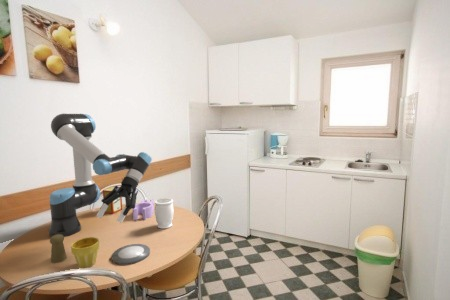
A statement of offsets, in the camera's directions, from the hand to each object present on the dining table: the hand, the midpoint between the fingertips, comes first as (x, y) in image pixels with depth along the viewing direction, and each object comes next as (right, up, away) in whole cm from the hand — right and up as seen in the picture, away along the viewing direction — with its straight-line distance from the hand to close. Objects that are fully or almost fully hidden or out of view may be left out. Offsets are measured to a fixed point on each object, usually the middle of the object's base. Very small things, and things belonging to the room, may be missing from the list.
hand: (108, 219), depth 118 cm
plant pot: (-5, -17, -8) cm, 20 cm away
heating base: (+11, -16, -1) cm, 19 cm away
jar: (+19, -12, +31) cm, 38 cm away
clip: (+1, -11, +51) cm, 52 cm away
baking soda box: (-22, -10, +57) cm, 62 cm away
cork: (-20, -17, -4) cm, 26 cm away
